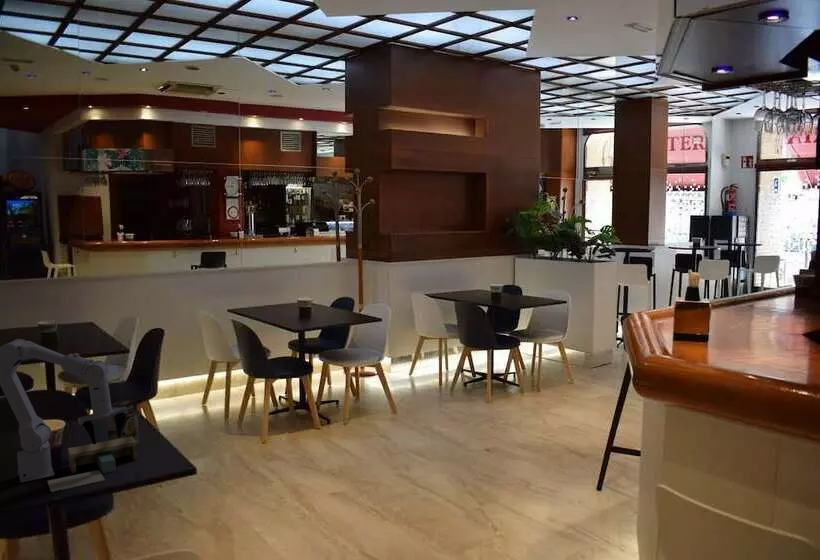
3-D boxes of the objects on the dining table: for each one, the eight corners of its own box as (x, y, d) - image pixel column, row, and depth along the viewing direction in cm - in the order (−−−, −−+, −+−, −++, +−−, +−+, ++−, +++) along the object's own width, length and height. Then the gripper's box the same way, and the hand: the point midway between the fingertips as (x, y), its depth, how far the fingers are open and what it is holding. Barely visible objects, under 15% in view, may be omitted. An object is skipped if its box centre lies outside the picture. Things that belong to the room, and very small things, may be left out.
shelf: (72, 473, 221) (70, 454, 221) (69, 466, 227) (67, 448, 227) (137, 459, 232) (136, 441, 232) (133, 453, 238) (131, 436, 237)
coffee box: (124, 451, 240) (121, 406, 239) (108, 450, 242) (105, 406, 240) (140, 442, 249) (137, 399, 248) (124, 442, 251) (121, 398, 249)
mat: (51, 492, 206) (51, 491, 206) (47, 482, 214) (47, 480, 214) (104, 480, 214) (104, 479, 214) (99, 471, 223) (99, 469, 223)
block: (102, 474, 220) (101, 462, 220) (96, 463, 230) (95, 451, 230) (116, 471, 223) (115, 459, 222) (109, 460, 233) (108, 449, 232)
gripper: (79, 407, 214) (85, 449, 215) (127, 396, 222) (133, 436, 224) (74, 403, 219) (80, 444, 221) (121, 392, 228) (127, 432, 229)
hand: (106, 440), depth 223 cm, fingers open, 7 cm apart
